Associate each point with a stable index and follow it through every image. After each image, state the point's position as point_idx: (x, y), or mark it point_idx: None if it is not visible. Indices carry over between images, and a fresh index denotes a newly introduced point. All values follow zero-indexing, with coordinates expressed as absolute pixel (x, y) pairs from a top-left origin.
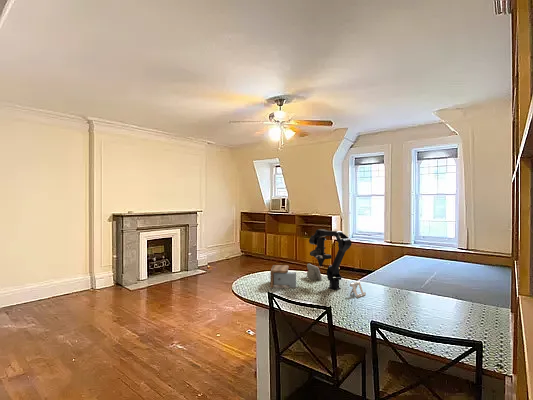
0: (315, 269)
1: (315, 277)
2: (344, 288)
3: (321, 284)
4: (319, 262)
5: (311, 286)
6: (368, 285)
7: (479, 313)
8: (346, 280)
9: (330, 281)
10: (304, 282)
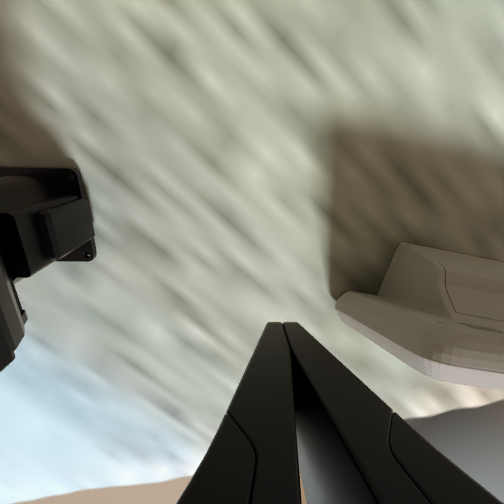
0: (447, 324)
1: (398, 283)
2: None
3: (225, 205)
4: (317, 415)
5: (220, 34)
6: (37, 467)
7: None
8: (211, 442)
9: (19, 205)
10: (399, 90)
